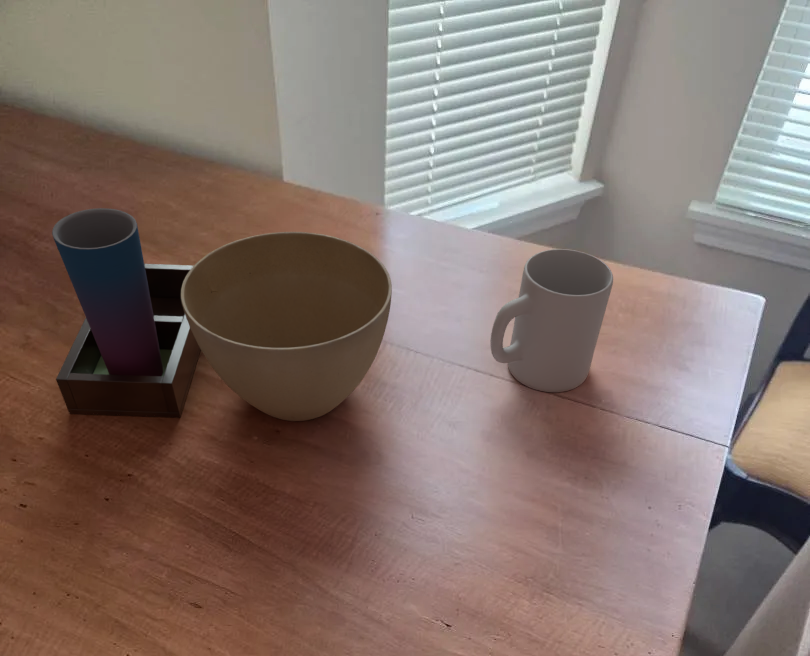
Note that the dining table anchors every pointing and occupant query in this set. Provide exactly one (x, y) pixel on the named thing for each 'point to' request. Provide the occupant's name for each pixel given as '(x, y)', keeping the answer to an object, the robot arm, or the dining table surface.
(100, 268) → the cup
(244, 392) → the beige bowl
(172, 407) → the divided storage box
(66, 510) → the dining table surface
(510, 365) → the mug
